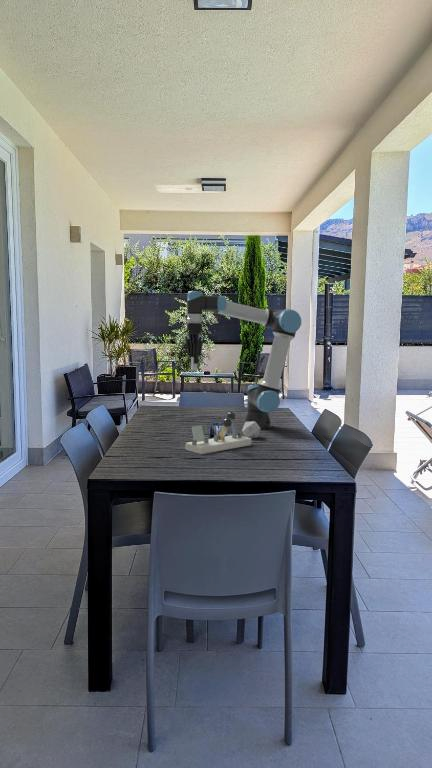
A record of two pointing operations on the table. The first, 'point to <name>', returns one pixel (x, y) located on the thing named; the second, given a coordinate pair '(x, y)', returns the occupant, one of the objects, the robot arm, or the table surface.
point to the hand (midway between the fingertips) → (194, 369)
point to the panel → (217, 443)
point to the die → (251, 429)
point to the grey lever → (233, 422)
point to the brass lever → (224, 428)
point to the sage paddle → (198, 433)
